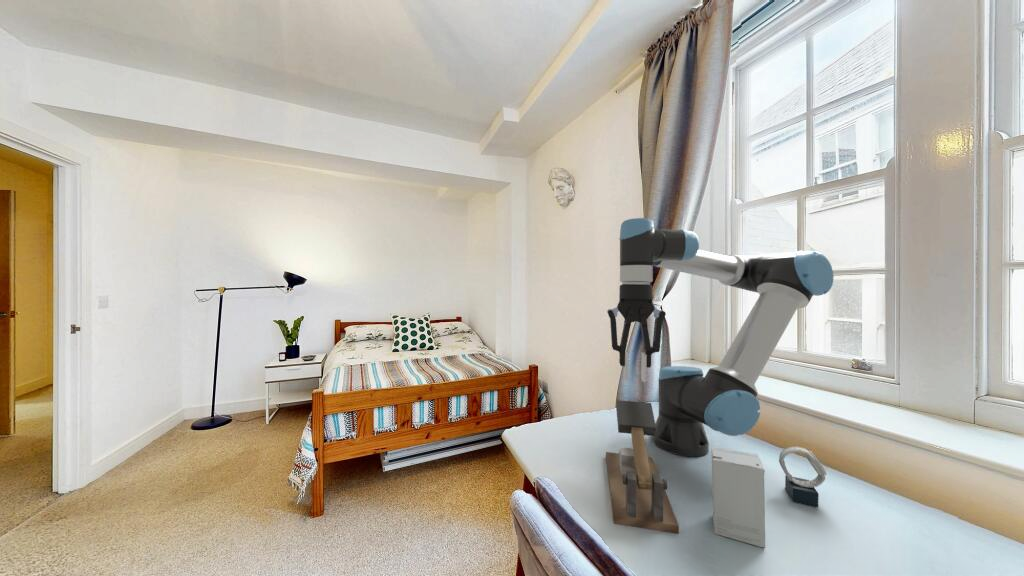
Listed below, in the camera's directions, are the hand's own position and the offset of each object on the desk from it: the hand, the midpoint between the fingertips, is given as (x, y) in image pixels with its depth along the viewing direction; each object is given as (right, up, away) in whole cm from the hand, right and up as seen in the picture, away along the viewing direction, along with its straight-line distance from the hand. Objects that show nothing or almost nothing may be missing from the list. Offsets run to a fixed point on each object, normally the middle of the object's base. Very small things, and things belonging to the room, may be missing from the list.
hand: (634, 379), depth 81 cm
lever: (-1, -13, -6) cm, 15 cm away
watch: (+35, -25, -6) cm, 44 cm away
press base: (-1, -25, -3) cm, 25 cm away
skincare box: (+14, -25, -17) cm, 33 cm away
